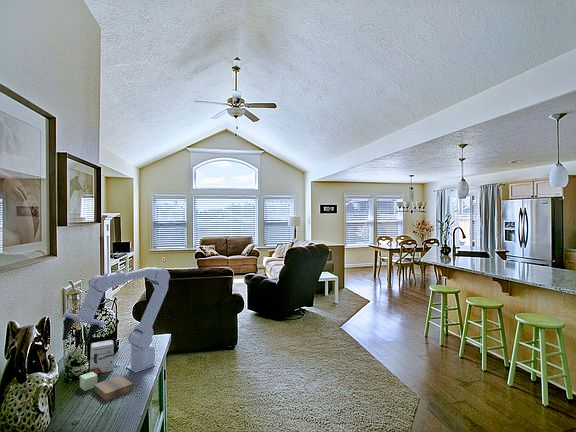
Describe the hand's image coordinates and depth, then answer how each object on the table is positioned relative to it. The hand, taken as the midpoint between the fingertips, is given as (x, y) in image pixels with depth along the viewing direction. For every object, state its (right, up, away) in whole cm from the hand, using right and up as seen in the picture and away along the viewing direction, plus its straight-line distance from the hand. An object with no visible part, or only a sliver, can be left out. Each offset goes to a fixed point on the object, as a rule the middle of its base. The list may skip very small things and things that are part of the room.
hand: (74, 342), depth 126 cm
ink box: (+1, -19, +17) cm, 25 cm away
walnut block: (+14, -20, +2) cm, 24 cm away
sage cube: (+3, -19, +4) cm, 19 cm away
